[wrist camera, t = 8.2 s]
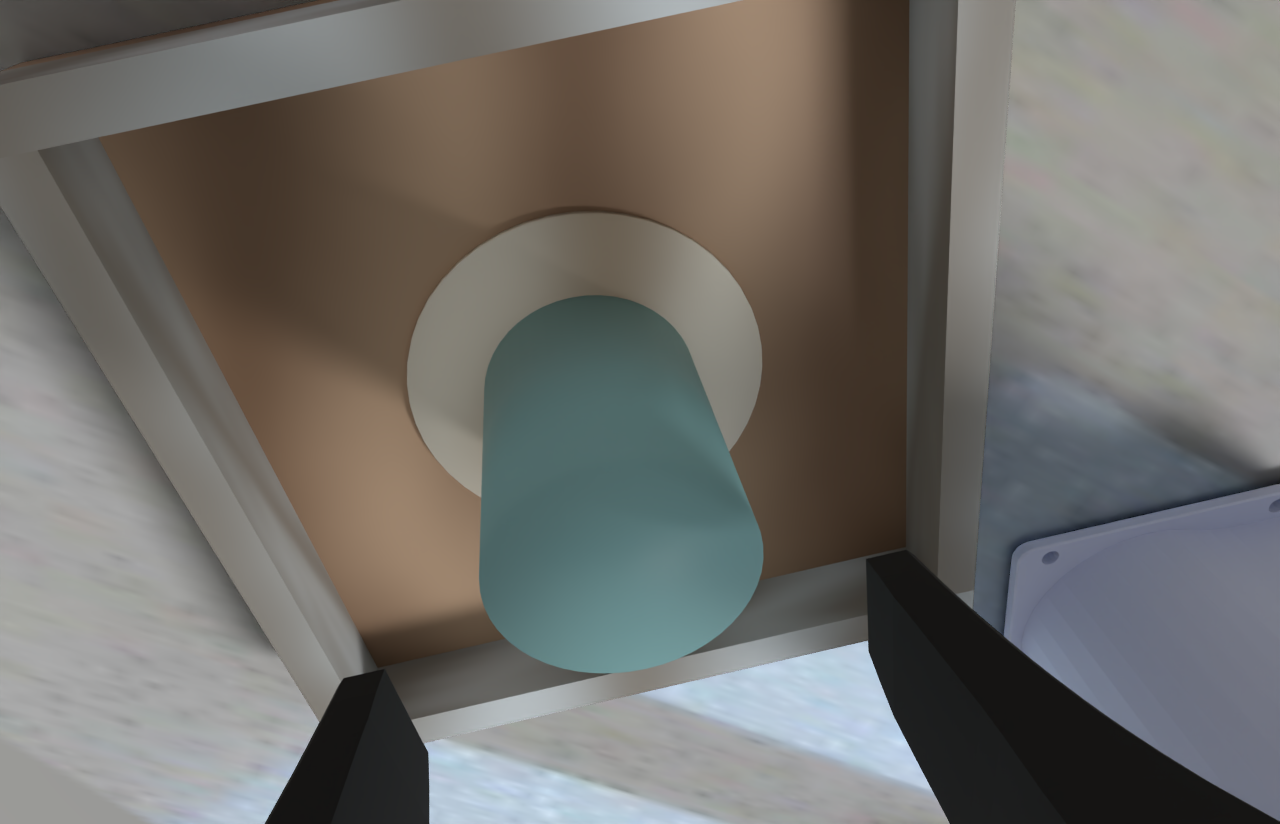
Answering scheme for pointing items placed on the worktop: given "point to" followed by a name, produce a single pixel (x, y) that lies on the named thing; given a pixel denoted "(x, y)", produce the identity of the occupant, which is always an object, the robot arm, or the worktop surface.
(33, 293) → the worktop surface
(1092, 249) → the worktop surface
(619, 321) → the teal cylinder
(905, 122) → the corral
